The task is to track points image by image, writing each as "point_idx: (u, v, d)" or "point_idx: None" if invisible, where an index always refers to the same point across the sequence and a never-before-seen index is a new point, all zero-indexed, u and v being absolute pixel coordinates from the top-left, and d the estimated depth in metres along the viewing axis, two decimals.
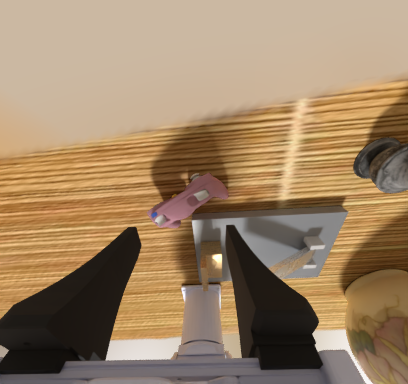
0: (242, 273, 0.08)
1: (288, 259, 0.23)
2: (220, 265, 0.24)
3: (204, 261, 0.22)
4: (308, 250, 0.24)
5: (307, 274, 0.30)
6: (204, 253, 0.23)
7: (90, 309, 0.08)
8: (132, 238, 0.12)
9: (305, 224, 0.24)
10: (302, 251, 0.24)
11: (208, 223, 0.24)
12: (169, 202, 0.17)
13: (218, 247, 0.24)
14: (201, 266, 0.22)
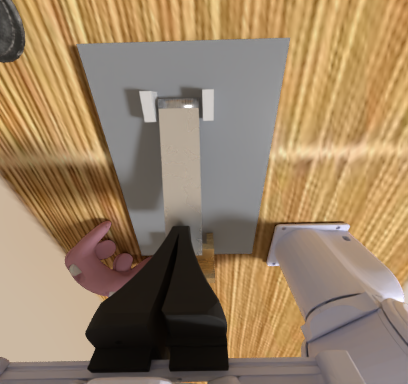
0: (173, 274, 0.08)
1: None
2: None
3: None
4: None
5: (270, 75, 0.12)
6: None
7: None
8: None
9: (124, 125, 0.14)
10: None
11: (143, 243, 0.21)
12: (89, 290, 0.20)
13: None
14: None
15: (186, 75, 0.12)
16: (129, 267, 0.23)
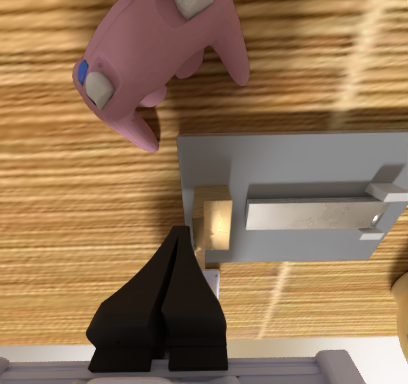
0: (172, 275, 0.08)
1: (326, 199, 0.15)
2: (228, 225, 0.14)
3: (200, 209, 0.12)
4: (371, 200, 0.14)
5: (353, 255, 0.20)
6: (200, 199, 0.13)
7: None
8: None
9: (378, 157, 0.14)
10: (358, 199, 0.15)
11: (207, 146, 0.13)
12: (110, 13, 0.07)
13: (225, 192, 0.14)
14: (194, 215, 0.11)
15: None
16: (139, 104, 0.11)
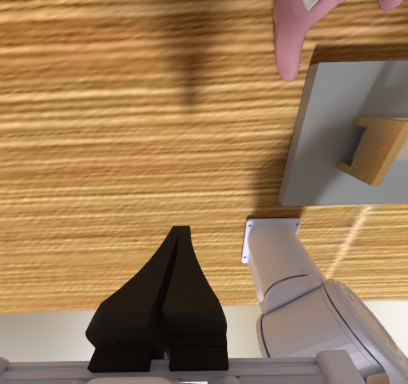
0: (173, 274, 0.08)
1: None
2: None
3: (399, 120, 0.13)
4: None
5: None
6: (383, 118, 0.14)
7: None
8: None
9: None
10: None
11: (343, 72, 0.14)
12: None
13: (396, 116, 0.15)
14: (404, 121, 0.12)
15: None
16: None
